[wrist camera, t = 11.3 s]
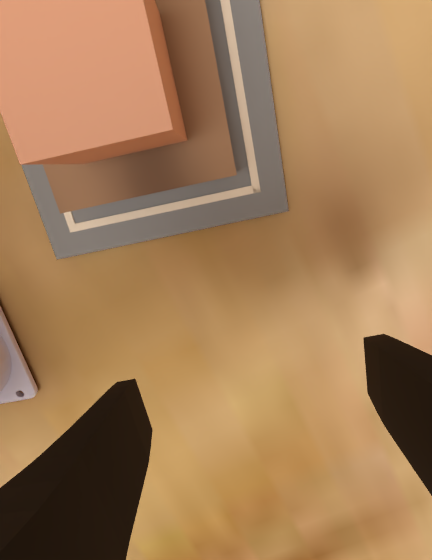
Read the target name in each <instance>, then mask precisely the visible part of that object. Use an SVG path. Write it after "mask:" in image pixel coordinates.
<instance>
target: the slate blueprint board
mask: <svg viewBox="0 0 432 560" xmlns="http://www.w3.org/2000/svg"><path fill="white" fill-rule="evenodd" d="M205 3H206V8H207V14H208V19H209V25H210V30H211V36H212V41H213V47H214V52H215V58H216V63H217V69H218V74H219V80H220V85H221V91H222V96H223V102H224V107H225V113H226V118H227V124H228V129H229V135H230V140H231V146H232V151H233V157H234V162H235V168H236V173H237V175H235V176H230V177H226V178H221V179H216V180H212V181H207V182H203V183H198V184H194V185H189V186H184V187H180V188H175V189H171V190H166V191H162V192H157V193H152V194H148V195H143V196H139V197H134V198H130V199H125V200H120V201H116V202H111V203H107V204H102V205H98V206H93V207H88V208H84V209H79V210H75V211H70V212H65V213H61V214H60V212H59V209H58V206H57V203H56V201H55V198H54V195H53V192H52V189H51V186H50V184H49V181H48V178H47V175H46V172H45V170H44V167H43V164H32V165H22V168H23V171H24V173H25V176H26V179H27V181H28V184H29V187H30V189H31V192H32V195H33V197H34V200H35V203H36V205H37V208H38V211H39V213H40V216H41V219H42V221H43V224H44V227H45V229H46V232H47V235H48V237H49V240H50V243H51V245H52V248H53V251H54V253H55V256H56V259H62V258H67V257H72V256H77V255H81V254H86V253H91V252H96V251H101V250H105V249H110V248H115V247H120V246H125V245H129V244H134V243H139V242H144V241H148V240H153V239H158V238H163V237H168V236H172V235H177V234H182V233H187V232H192V231H196V230H201V229H206V228H211V227H215V226H220V225H225V224H230V223H235V222H239V221H244V220H249V219H254V218H259V217H263V216H268V215H273V214H278V213H282V212H287V211H289V210H288V203H287V195H286V188H285V181H284V174H283V167H282V159H281V152H280V145H279V138H278V131H277V123H276V116H275V109H274V102H273V95H272V87H271V80H270V73H269V66H268V58H267V51H266V44H265V37H264V30H263V22H262V15H261V8H260V1H259V0H205Z"/></svg>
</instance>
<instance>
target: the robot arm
mask: <svg viewBox="0 0 432 560" xmlns="http://www.w3.org/2000/svg"><path fill="white" fill-rule="evenodd" d="M364 351H365V364H366V377H367V390H368V395H369V397H370V399H371V401H372V403H373V405H374V407H375V409H376V411H377V413H378V415H379V417H380V418H381V420H382V422H383V424H384V426H385V427H386V429H387V430H388V432H389V433H390V435H391V436H392V438H393V439H394V441H395V442H396V444H397V445H398V447H399V448H400V450H401V451H402V452H403V454H404V455H405V457H406V458H407V460H408V461H409V463H410V464H411V466H412V467H413V469H414V470H415V472H416V473H417V475H418V476H419V478H420V479H421V480H422V482H423V483H424V485H425V486H426V488H427V489H428V491H429V492H430V494H431V495H432V355H430V354H427V353H425V352H423V351H421V350H419V349H417V348H415V347H412V346H410V345H408V344H406V343H404V342H402V341H399V340H397V339H395V338H393V337H390V336H388V335H385V334H381V335H376V336H370V337H364ZM20 391H22V392H23V393H21V392H20ZM37 392H38V388H37V386H36V384H35V381H34V379H33V377H32V375H31V373H30V370H29V368H28V366H27V364H26V362H25V359H24V357H23V355H22V353H21V350H20V348H19V346H18V344H17V342H16V339H15V337H14V335H13V333H12V331H11V328H10V326H9V324H8V322H7V320H6V317H5V315H4V313H3V311H2V308H1V306H0V404H3V403H8V402H14V401H19V400H25V399H31V398H33V397H34V396H35V395H36V394H37ZM151 439H152V427H151V424H150V421H149V418H148V415H147V412H146V409H145V406H144V403H143V400H142V397H141V394H140V391H139V388H138V385H137V382H136V380H135V379H132V380H126V381H121V382H117V383H115V384H114V385H113V386H112V387H111V388H110V389H109V390H108V391H107V392H106V393H105V394H104V395H103V396H102V397H101V398H100V399H99V400H98V401H97V402H96V403H95V404H94V405H93V406H92V407H91V408H90V409H89V410H88V411H87V412H86V413H85V414H84V415H83V416H82V417H80V418H79V419H78V420H77V421H76V422H75V423H74V424H73V425H72V426H71V427H70V428H69V429H68V430H67V431H66V432H65V433H64V434H63V435H62V436H61V437H60V438H59V439H57V440H56V441H55V442H54V443H53V444H52V445H51V446H50V447H49V448H48V449H47V450H46V451H44V452H43V453H42V454H41V455H40V456H39V457H38V458H37V459H35V460H34V461H33V462H32V463H31V464H29V465H28V466H27V467H26V468H25V469H23V470H22V471H21V472H20V473H18V474H17V475H16V476H15V477H13V478H12V479H11V480H10V481H8V482H7V483H6V484H5V485H3V486H2V487H1V488H0V560H126V556H127V551H128V546H129V541H130V537H131V533H132V529H133V525H134V521H135V517H136V513H137V508H138V504H139V500H140V496H141V492H142V488H143V484H144V480H145V476H146V472H147V467H148V463H149V456H150V448H151Z"/></svg>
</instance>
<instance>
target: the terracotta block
mask: <svg viewBox="0 0 432 560" xmlns="http://www.w3.org/2000/svg"><path fill="white" fill-rule="evenodd" d="M0 112H1V115H2V117H3V120H4V123H5V125H6V128H7V131H8V133H9V136H10V139H11V141H12V144H13V147H14V149H15V152H16V155H17V157H18V160H19V163H20V165H32V164H87V163H91V162H95V161H100V160H104V159H109V158H113V157H117V156H122V155H126V154H131V153H135V152H140V151H144V150H148V149H153V148H157V147H162V146H166V145H170V144H175V143H179V142H184V141H187V136H186V131H185V127H184V122H183V118H182V113H181V109H180V104H179V99H178V95H177V90H176V86H175V81H174V77H173V72H172V67H171V63H170V58H169V54H168V49H167V45H166V40H165V35H164V31H163V26H162V22H161V17H160V13H159V10H158V8H157V5H156V3H155V0H0Z"/></svg>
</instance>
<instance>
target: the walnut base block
mask: <svg viewBox="0 0 432 560" xmlns="http://www.w3.org/2000/svg"><path fill="white" fill-rule="evenodd" d="M155 3H156V5H157V8H158V10H159V13H160V17H161V22H162V26H163V31H164V35H165V40H166V45H167V49H168V54H169V58H170V63H171V67H172V72H173V77H174V81H175V86H176V90H177V95H178V99H179V104H180V109H181V113H182V118H183V122H184V127H185V131H186V136H187V141H184V142H179V143H175V144H170V145H166V146H162V147H157V148H153V149H148V150H144V151H140V152H135V153H131V154H126V155H122V156H117V157H113V158H109V159H104V160H100V161H95V162H91V163H87V164H43V167H44V170H45V172H46V175H47V178H48V181H49V184H50V186H51V189H52V192H53V195H54V198H55V201H56V203H57V206H58V209H59V212H60V214H61V213H65V212H70V211H75V210H79V209H84V208H88V207H93V206H98V205H102V204H107V203H111V202H116V201H120V200H125V199H130V198H134V197H139V196H143V195H148V194H152V193H157V192H162V191H166V190H171V189H175V188H180V187H184V186H189V185H194V184H198V183H203V182H207V181H212V180H216V179H221V178H226V177H230V176H235V175H237V173H236V168H235V162H234V157H233V151H232V146H231V140H230V135H229V129H228V124H227V118H226V113H225V107H224V102H223V96H222V91H221V85H220V80H219V74H218V69H217V63H216V58H215V52H214V47H213V41H212V36H211V30H210V25H209V19H208V14H207V8H206V3H205V0H155Z"/></svg>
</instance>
